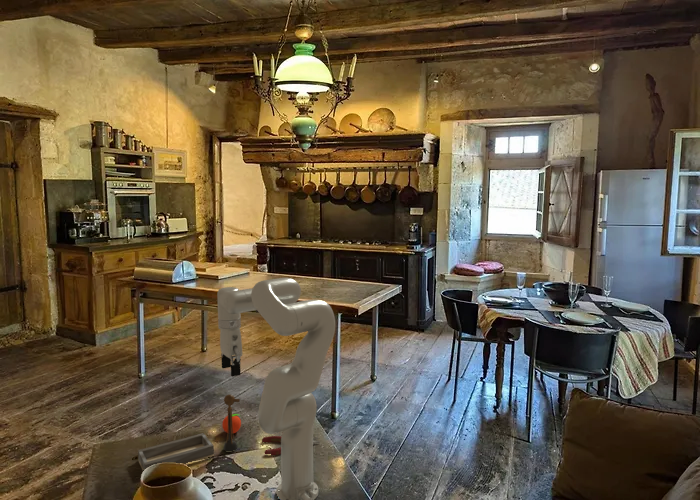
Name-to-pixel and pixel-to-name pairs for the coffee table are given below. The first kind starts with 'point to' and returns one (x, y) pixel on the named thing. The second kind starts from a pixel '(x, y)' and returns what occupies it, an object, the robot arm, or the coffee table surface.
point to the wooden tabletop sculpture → (230, 423)
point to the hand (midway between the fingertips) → (230, 371)
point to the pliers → (277, 439)
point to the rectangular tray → (177, 451)
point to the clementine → (235, 423)
